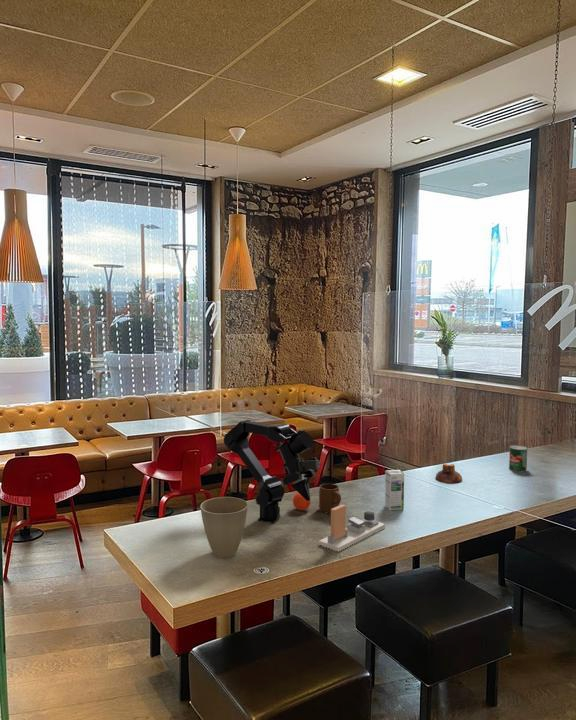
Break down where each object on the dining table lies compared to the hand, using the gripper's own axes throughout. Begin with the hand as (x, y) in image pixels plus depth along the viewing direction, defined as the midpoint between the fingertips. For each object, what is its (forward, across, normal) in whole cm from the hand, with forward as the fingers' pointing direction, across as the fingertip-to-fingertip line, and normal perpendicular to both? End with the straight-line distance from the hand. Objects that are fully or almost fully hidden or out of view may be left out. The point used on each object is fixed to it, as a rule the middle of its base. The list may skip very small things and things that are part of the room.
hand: (308, 500), depth 196 cm
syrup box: (+15, +38, -18) cm, 44 cm away
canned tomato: (+23, +110, -65) cm, 130 cm away
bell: (+14, +83, -36) cm, 91 cm away
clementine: (+2, +23, +12) cm, 26 cm away
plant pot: (+5, -22, +25) cm, 34 cm away
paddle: (+14, -3, -6) cm, 16 cm away
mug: (+7, +24, +2) cm, 25 cm away
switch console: (+17, +5, -8) cm, 19 cm away
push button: (+14, +13, -13) cm, 23 cm away
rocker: (+13, +6, -10) cm, 18 cm away
